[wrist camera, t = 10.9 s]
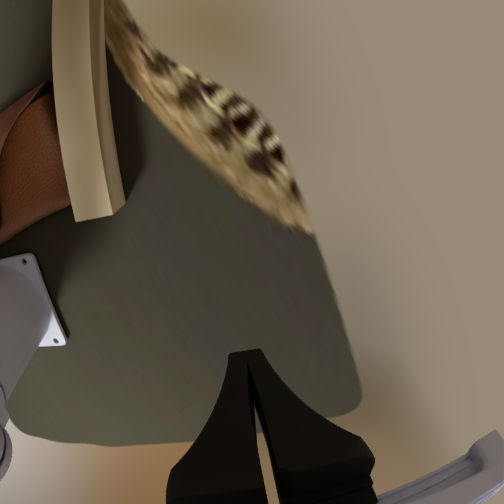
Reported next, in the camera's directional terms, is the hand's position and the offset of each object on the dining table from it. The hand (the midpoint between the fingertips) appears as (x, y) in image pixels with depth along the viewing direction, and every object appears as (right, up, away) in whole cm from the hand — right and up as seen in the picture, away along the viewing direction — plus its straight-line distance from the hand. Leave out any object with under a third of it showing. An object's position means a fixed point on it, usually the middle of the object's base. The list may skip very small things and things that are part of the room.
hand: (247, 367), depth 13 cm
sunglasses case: (-19, +9, +5) cm, 22 cm away
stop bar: (-10, +16, +2) cm, 19 cm away
